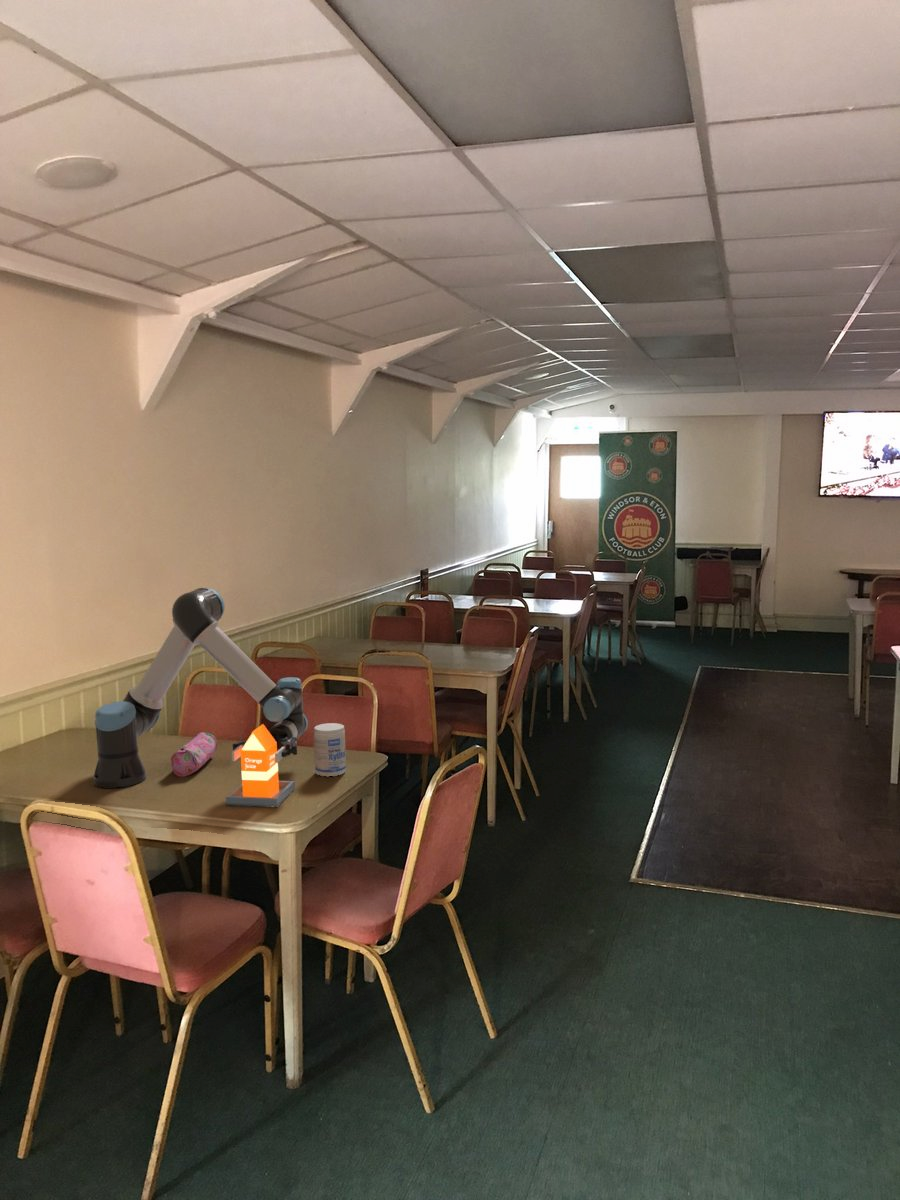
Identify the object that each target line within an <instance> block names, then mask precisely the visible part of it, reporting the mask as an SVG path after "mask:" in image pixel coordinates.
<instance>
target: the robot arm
mask: <svg viewBox="0 0 900 1200" xmlns="http://www.w3.org/2000/svg"><path fill="white" fill-rule="evenodd" d="M225 607H226V606H225V601H224V599H223V597H222V596H221V595H220V593H219V592H218V591H216V590H215V589H212V588H209V587H198V588H196V589H194V590H191V591H190V592H186V593H183V594H181V595H180V596H178V597H177V598H176V599H175V601H174V603H173V605H172V609H171V616H172V622H173V625H174V626H173V627H172V629H171V630H170V632H169V634H168V635H167V637H166V638H165V640H164V642H163V644H162V645H161V647H160V648H159V650H158V652H157V654H156V655H155V657H154V659H153V660H152V662H151V663H150V665H149V667H148V669H147V670H146V672H145V673H144V674H143V677H142V678H141V680H140V681H139V683H138V685H137V686H133V687H131V688H130V689H129V690H128V692H127V694H126V695H125V697H124V698H123V700H121V701H114V702H109V703H106V704H104V705H101V706H99V708H97V710H96V712H95V713H94V714H95V715H94V725H95V735H96V736H95V737H96V745H97V746H96V748H97V758H98V759H97V761H96V765H95V769H94V774H93V784H95V785H96V786H95V785H94V786H95V787H97V786H98V788H101V787H103V788H102V789H118V788H117V787H120V788H125V787H130V785H131V786H134V785H136V784H140V783H142V782H143V781H145V780H146V778H147V771H146V768H145V765H144V763H143V762H142V759H141V757H140V755H139V745H138V743H139V741H138V738H139V737H140V736H141V735H143V734H145V733H146V732H148V731H149V730H151V729H152V728H154V727H155V725H156V724H157V723H158V721H159V718H160V714H161V710H162V709H163V707H164V701H163V698H164V697H165V695H166V693H167V692H168V690H169V689H170V687H171V685H172V684H173V682H174V680H175V679H176V677H177V675H178V673H179V672H180V671H181V669H182V668H183V666H184V664H185V662H186V661H187V659H188V657H189V656H190V654H191V652H193V651H192V650H193V649H194V647H195V646H196V645H199V646H200V647H201V648H202V649H203V650H204V651H205V652H206V653H207V654H208V655H209V656H210V657H211V658H212V659H213V660H214V661H215V662H216V663H217V664H218V665H219V666H220V667H221V668H222V669H223V670H224V671H225V672H226V673H228V674H229V676H231V678H232V679H234V680H235V682H236V683H238V684H239V686H241V687H242V689H244V690H245V692H247V693H248V694H249V695H250V697H252V698H253V699H254V700H255V701H256V703H258V705H260V706H261V707H262V709H263V711H262V712H263V715H264V717H265V718H266V719H267V720H268V721H269V722H273V723H276V724H275V725H273V726H272V727H271V728H269V729H267V730H268V731H269V733H270V734H271V735H272V737H273V738H274V740H275V741H276V742H277V752H276V753H275V763H278V764H279V762H280V761H282V760H283V759H284V758H286V757H287V756H290V755H291V754H292V755H294V756H295V755H298V743H297V740H298V739H299V738H300V737H302V736H303V735H304V734H305V732H306V731H307V729H308V726H309V720H308V718H307V717H306V715H305V714H304V706H303V705H304V701H303V685H302V684H303V683H302V680H301V678H299V677H293V676H291V677H290V676H289V677H282V678H280V679H279V680H278V681H277V684H276V683H275V682H274V681H273V680H272V679H271V678H270V677H269V676H268V675H267V674H266V673H265V672H264V671H263V670H262V669H261V668H260V667H259V666H258V665H257V664H256V663H255V662H254V661H253V660H252V659H251V658H250V657H249V656H248V655H247V654H246V653H245V652H244V651H243V650H242V649H241V648H240V647H239V646H238V645H237V644H236V643H235V642H234V641H233V640H232V639H231V638H230V637H229V636H228V635H227V634H226V633H225V632H224V631H223V630H222V628H220V627H219V626H218V621H219V620H220V619H222V617H223V615H224V613H225ZM248 739H249V738H247V739H243V740H241V741H238V742H235V743H233V744H232V751H231V762H236V761H237V760H239V758H240V759H241V750H242V748H243V746H244V745H245V743H246V742H247V740H248ZM144 779H145V780H144ZM139 782H140V783H139Z"/></svg>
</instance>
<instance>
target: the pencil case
mask: <svg viewBox="0 0 900 1200" xmlns="http://www.w3.org/2000/svg"><path fill="white" fill-rule="evenodd" d="M217 749H218V741H217V738H216V737H215V735H213V734H211V733H208V732H203V731H201V732H199V733H197V734H195V735H194V736H193V737H192V740H190V741H189V742H186V743H185V744H184V745H183V746H182V747H181V748H179V749H177V750H176V751H175V752H174V753H173V754H172V755H171V758H170V764H171V768H172V772H173V773H174V774H175V775H176V776H178V777H188V776H190V775H192V774H194V773H195V772H197V771H198V770H199V769H200V768H202V767H203V766H205V764H206V763H207V762H208V761H209V760H210V759H211V758H212V756H213V755H214V754H215V753H216V752H217V751H218V750H217Z"/></svg>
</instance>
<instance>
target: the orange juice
mask: <svg viewBox="0 0 900 1200" xmlns="http://www.w3.org/2000/svg"><path fill="white" fill-rule="evenodd" d="M268 730H269V729H267V727H266V725H264V723H262V724H261V725H260V726H258V727H257V728H255V729H254V730H253V731H251V734H250V735H249V737H248V738H247V739H248V740H247V742H246V743H245V745H244V746H243V748H242V750H241V757H240V764H241V765H240V766H241V784H242V786H243V796H247V797H273V796H274V795H275V794H276V793H277V792H278V791H279V781H280V779H279V762H278V763H275V753H276V752H277V742H276V741H275V740H274V738H273V737H272V735H271V734H270V733H269V731H268Z"/></svg>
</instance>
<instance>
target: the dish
mask: <svg viewBox="0 0 900 1200" xmlns="http://www.w3.org/2000/svg"><path fill="white" fill-rule="evenodd" d="M294 789H295V790H296V781H295V780H294V781H293V780H279V791H278V792H277V793H276V794H275V795H274V796H273V797H247V796H243V786H242V783H241V784H239V786H237V787H236V788H235V789H234V790H232V791H230V793H229V794H227V796H225V804H226V805H225V806H227V805H236V806H235V807H251V806H270V807H269V808H272V807H271V806H274V807H273V808H275V807H277V806H278V805H279V804H280V803H281V802H282V801H283V800H284V799H285V798H286V797H287V796H288V795H289V794H290V793H291V792H292V791H293V790H294ZM295 790H294V791H295ZM294 791H293V792H294ZM293 792H292V793H293ZM292 793H291V794H292ZM291 794H290V795H291ZM290 795H289V796H290ZM289 796H288V797H289ZM288 797H287V798H288ZM287 798H286V799H287ZM286 799H285V800H286ZM285 800H284V801H285ZM284 801H283V802H284ZM283 802H282V803H283ZM282 803H281V804H282ZM281 804H280V805H281ZM280 805H279V806H280ZM279 806H278V807H279ZM278 807H277V808H278Z"/></svg>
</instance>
